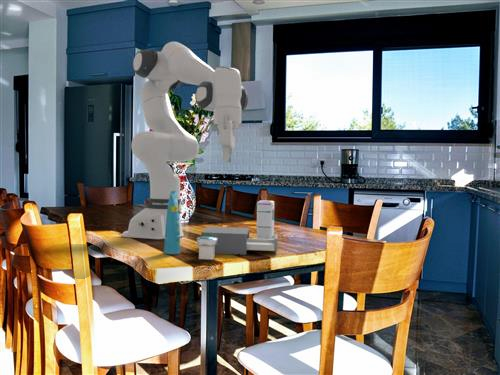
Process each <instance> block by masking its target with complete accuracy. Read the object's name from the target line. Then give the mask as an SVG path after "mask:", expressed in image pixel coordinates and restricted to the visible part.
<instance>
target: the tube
mask: <svg viewBox="0 0 500 375" xmlns="http://www.w3.org/2000/svg"><path fill="white" fill-rule="evenodd" d="M163 246H164V248H163V253H164V254H165V255H179V254H180V253H181V237H180V225H179V207H178V198H177V191H176V190H175V191H171V193H170V197H169V202H168V209H167V218H166V229H165V239H164V244H163Z"/></svg>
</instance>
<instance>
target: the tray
mask: <svg viewBox="0 0 500 375" xmlns="http://www.w3.org/2000/svg"><path fill="white" fill-rule="evenodd" d="M278 237H279V236H278V233H274V239H257V238H250V237H249V238H247V247H246V250H248V251H265V252H266V251H268V252H269V251H270V252H271V251H272V252H278V243H279V242H278V241H279V240H278Z"/></svg>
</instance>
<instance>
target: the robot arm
mask: <svg viewBox="0 0 500 375" xmlns="http://www.w3.org/2000/svg"><path fill="white" fill-rule="evenodd" d="M132 68H133V71H134V74H135V75H136V76H139V77H140V78H142V79H147V80H148V81H145V83H143V85H142V87H141V90H140V91H141V92H140V97H141V98H140V99H141V107H142V111H143V115H144V122H145V125H146V126H147V128H149V129H150V130H148V131H140V132H137V133H136V134H135V135H134V136H133V138H132V140H131V143H130V145H131V152H132V154H133V155H134V157H135V158H137V159H138V161H140V162H141V164H143V166H144V167H145V169H146V171H147V174H148V177H149V189H150V190H149V192H150V194H149V198H147V199H146V200H144V201H143V202H144V203H143V204H144V208H143V209H142V210H141V211H139V212H138V213H137V214H135V215H134V216H133V217H132V218H131V219H130V220H129V224H128V229H127V230H125V231H123V232H122V234H121V236H122V237H124V238H135V239H136V238H137V239H150V240H165V229H166V218H167V209H168V202H169V197H170V193H171V191H175V190H176V191H177V198H178V207H179V225H180V238H181V237H184V232H183V226H182V219H181V213H182V199H181V178H180V176H179V175H178V174H176V173H175V172H173V171H172V170H170V169H169V167H168V164H167V162H175V163H177V162H178V163H183V162H184V163H185V162H189V161H194V159H196V157H197V156H198V154H199V150H200V145H199V142H198V141H199V140H197V138H196V137H195V136H194V135H192V134H190V133H189V132H188V131H186V130H185V128H184V127H182V126H181V124H180V123H179V122H178V121H177V119H176V116H175V114H174V110H173V107H172V104H171V100H170V95H169V91H175V90H176V89H177V88H178V87H181V86H182V85H183V84H188V85H189V84H190V85H194V86H197V87H196V89H195V92H194V93H195V94H194V96H195V103H196V105H197V107H199V109H201V110H204V111H208V112H213V125H217V130H218V142H219V144H218V145H220V146H221V147H222V148H221V149H222V150H221V151H222V160H223V161H224V162H225V163H227V164H229V163H231V162H232V154H233V150H235V146H236V141H237V133H238V132H237V131H238V127H239V126H240V125H242V113H243V112H244V111H245V109H246V108H247V107H248V104H249V96H248V95H249V94H248V92H247V90H246V88H245V87H244V86H243V85H242V76H241V72H240V71H239V69H237V68H235V67H229V66H218V67H215V69H214V68H212V66H210V65H209V64H207V63H206V62H205V61H203V60H202V59H201V58H199V56H198V55H196V54H195V53H194V52H193V51H192V50H191V49H190V48H188V47H187V46H185V45H184V44H182V43H180V42H179V41H170V42H167V43H166V44H165V45H164V46H163V48H162V49H161V51H156V50H155V48H151V49H141V50H139V51H137V52H136V54H135V55H134V57H133V61H132Z"/></svg>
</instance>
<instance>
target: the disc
mask: <svg viewBox="0 0 500 375" xmlns="http://www.w3.org/2000/svg"><path fill="white" fill-rule="evenodd" d="M217 244H218V238H216V237H210V236H204V237H201V236H199V237H197V238H196V245H197V246H199V245H200V246H216V245H217Z"/></svg>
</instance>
